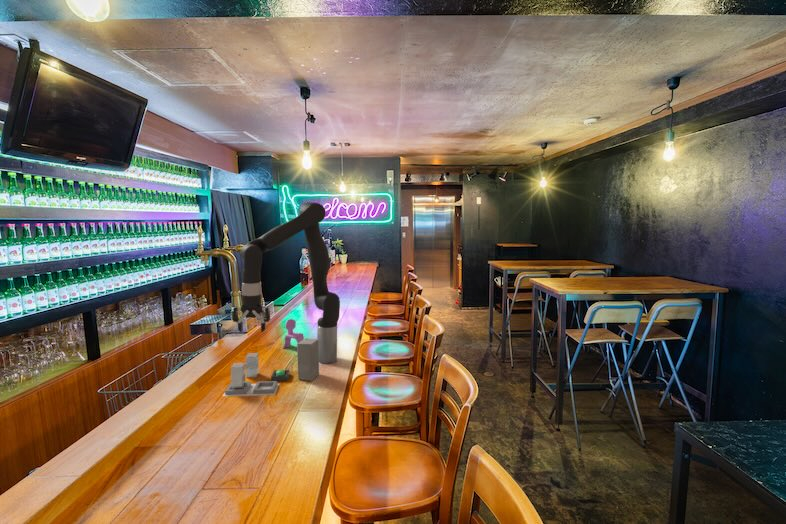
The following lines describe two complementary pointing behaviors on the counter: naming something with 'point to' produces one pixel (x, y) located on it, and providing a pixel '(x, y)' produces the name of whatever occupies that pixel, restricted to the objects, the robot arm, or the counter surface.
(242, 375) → the block
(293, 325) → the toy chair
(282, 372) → the button
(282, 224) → the robot arm
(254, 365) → the block
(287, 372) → the button housing
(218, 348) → the counter surface
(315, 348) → the skincare box
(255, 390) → the grey socket board
